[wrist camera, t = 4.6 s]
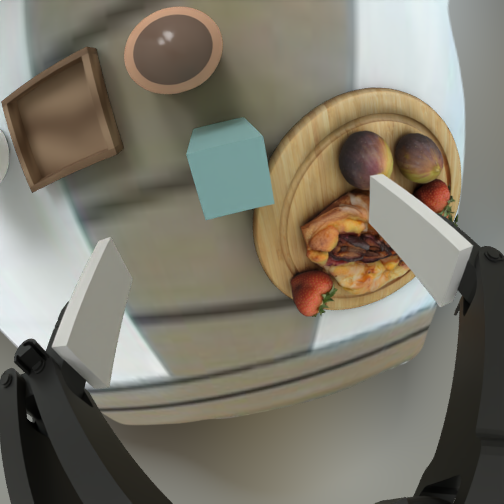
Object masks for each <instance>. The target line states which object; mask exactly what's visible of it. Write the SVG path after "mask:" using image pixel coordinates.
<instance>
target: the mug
mask: <svg viewBox="0 0 504 504" xmlns="http://www.w3.org/2000/svg"><path fill="white" fill-rule="evenodd" d="M8 166H9V147H8V143H7V140H6V138H5V136H4V134H3V132H2V131H1V130H0V182H1V181H2V180H3V179H4V177H5V175H6V172H7V170H8Z"/></svg>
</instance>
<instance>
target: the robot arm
mask: <svg viewBox="0 0 504 504" xmlns="http://www.w3.org/2000/svg"><path fill="white" fill-rule="evenodd" d="M369 223H370V225H371V226H372V227H373V228H374V229H375V230H376V231H377V232H378V233H379V234H380V235H381V236H382V237H383V239H384V240H385V241H386V242H387V243H388V244H389V245H390V246H391V248H392V249H393V250H394V251H395V252H396V253H397V254H398V255H399V257H400V258H401V259H402V260H403V261H404V262H405V264H406V265H407V266H408V267H409V268H410V270H411V271H412V272H413V273H414V274H415V276H416V277H417V278H418V279H419V281H420V282H421V283H422V284H423V286H424V287H425V288H426V289H427V291H428V292H429V293H430V294H431V296H432V297H433V298H434V300H435V301H436V302H437V304H438V305H439V306H440V307H442V306H444V305H446V304H448V303H450V302H452V301H453V300H454V298H455V296H456V293H457V291H459V292H460V293H461V294H462V297H461V299H460V301H459V304H458V306H457V308H456V310H455V314H454V315H457V313H458V311H459V310H460V312H459V332H458V344H457V354H456V362H455V370H454V377H453V383H452V389H451V394H450V399H449V404H448V408H447V413H446V417H445V421H444V425H443V429H442V433H441V436H440V440H439V443H438V446H437V450H436V453H435V456H434V458H433V460H432V462H431V463H430V464H429V466H428V467H427V469H426V470H425V472H424V473H423V475H422V478H421V480H420V483H419V485H418V487H417V489H416V492H415V494H414V496H413V497H408V498H406V497H404V498H398V499H391V500H383V501H380V502H377V503H375V504H504V256H503V254H502V253H501V252H500V251H498V250H497V249H495V248H493V247H490V246H484V247H480V246H479V245H477V244H476V243H475V242H474V241H473V240H472V239H471V238H470V237H469V236H468V235H467V234H465V233H464V232H463V231H461V230H460V228H458V227H457V226H456V225H454V223H453V222H451V221H450V220H449V219H448V218H446V217H444V216H442V215H440V214H438V213H435V212H433V211H432V210H431V209H430V208H428V207H427V206H426V205H425V204H423V203H422V202H421V201H419V200H418V199H417V198H415V197H414V196H413V195H411V194H410V193H409V192H407V191H406V190H405V189H403V188H402V187H401V186H399V185H398V184H396V183H395V182H393V181H392V180H391V179H389V178H388V177H386V176H385V175H383V174H379V175H372V176H370V206H369ZM132 280H133V278H132V277H131V275H130V273H129V271H128V269H127V267H126V265H125V264H124V262H123V260H122V258H121V256H120V254H119V252H118V250H117V248H116V246H115V244H114V242H113V240H112V238H111V237H109V238H106V239H103V240H100V241H98V243H97V245H96V247H95V249H94V251H93V252H92V254H91V256H90V258H89V260H88V262H87V264H86V266H85V268H84V270H83V272H82V275H81V277H80V279H79V281H78V283H77V285H76V287H75V290H74V292H73V294H72V296H71V299H70V301H68V302H67V304H66V305H65V306H64V308H63V309H62V310H61V313H60V315H59V318H58V321H57V323H56V325H55V329H54V330H53V333H52V335H51V338H50V341H49V344H48V346H47V349H46V351H45V350H44V349H43V348H42V347H41V346H40V345H39V344H38V343H37V342H36V340H35V339H27V340H26V341H24V342H23V343H22V344H21V345H20V346H19V348H18V349H17V351H16V353H15V357H14V362H15V364H17V365H18V366H19V367H20V368H21V369H22V370H23V371H24V372H25V373H24V374H21V375H20V374H19V373H18V372H17V371H16V370H15V369H13V368H10V369H8V370H6V371H5V372H4V373H3V375H2V376H1V379H0V444H1V453H2V460H3V467H4V472H5V478H6V484H7V488H8V493H9V497H10V501H11V504H172V502H171V501H170V500H169V499H168V498H167V497H166V496H165V495H164V494H163V493H162V492H161V491H160V490H159V489H158V488H157V487H156V486H155V484H154V483H153V482H152V481H151V480H150V479H149V477H148V476H147V475H146V474H145V473H144V472H143V470H142V469H141V468H140V467H139V466H138V464H137V463H136V462H135V460H134V459H133V458H132V457H131V455H130V454H129V453H128V451H127V450H126V449H125V447H124V446H123V445H122V443H121V442H120V440H119V439H118V437H117V436H116V435H115V433H114V432H113V430H112V429H111V427H110V426H109V424H108V423H107V421H106V420H105V418H104V417H103V415H102V413H101V412H100V410H99V408H98V407H97V405H96V403H95V402H94V400H93V398H92V397H91V395H90V393H89V392H88V391H87V390H86V389H85V383H86V381H87V382H88V383H89V384H90V385H91V386H92V387H93V388H109V386H110V380H111V374H112V368H113V362H114V357H115V352H116V347H117V342H118V337H119V332H120V328H121V323H122V319H123V315H124V311H125V307H126V303H127V299H128V295H129V291H130V287H131V283H132ZM26 413H27V414H29V415H30V416H31V417H32V419H33V422H30V421H29V420H28V419H27V414H26ZM454 500H455V501H454ZM453 502H454V503H453Z"/></svg>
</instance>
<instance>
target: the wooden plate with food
mask: <svg viewBox="0 0 504 504" xmlns="http://www.w3.org/2000/svg"><path fill="white" fill-rule="evenodd" d="M268 167H269V173H270V179H271V185H272V191H273V197H274V203H275V204H272V205H267V206H263V207H258V208H254V212H253V237H254V244H255V248H256V252H257V255H258V258H259V260H260V263H261V265H262V267H263V269H264V271H265V273H266V274H267V276H268V277H269V279H270V280H271V282H272V283H273V284H274V285H275V286H276V287H277V288H278V289H279V290H281V291H282V292H283V293H284V294H285V295H287V296H288V297H290V298H291V299H293V300H294V303H295V304H296V306H297V308H298V310H299V311H300V312H301V313H302V314H303V315H305V316H312V317H313V316H315V317H316V315H317V313H319V312H320V315H321V314H322V313H324V312H325V311H324V310H323V309H326V310H343V309H350V308H356V307H360V306H364V305H367V304H370V303H373V302H376V301H378V300H380V299H383V298H385V297H386V296H388V295H390V294H392V293H394V292H395V291H397V290H398V289H400V288H401V287H403V286H404V285H405V284H407V283H408V282H409V281H411V280H412V279H413V278H414V277H415V274H414V273H413V272H412V271H411V270H410V268H409V267H408V266H407V265H406V264H405V262H404V261H403V260H402V259H401V258H400V257H399V255H398V254H397V253H396V252H395V251H394V250H393V249H392V248H391V246H390V245H389V244H388V243H387V242H386V241H385V240H384V239H383V237H382V236H381V235H380V234H379V233H378V232H377V231H376V230H375V229H374V228H373V227H372V226H371V225H370V223H369V206H370V176H372V175H379V174H383V175H385V176H386V177H388V178H389V179H391V180H392V181H393V182H395V183H396V184H398V185H399V186H401V187H402V188H403V189H405V190H406V191H407V192H409V193H410V194H411V195H413V196H414V197H415V198H417V199H418V200H419V201H421V202H422V203H423V204H425V205H426V206H427V207H428V208H430V209H431V210H432V211H433V212H435V213H438V214H440V215H442V216H444V217H446V218H448V219H449V220H450V221H451V222H453V221H454V222H455V223H454V222H453V223H454V225H456V226H457V224H456V222H457V221H458V214H457V216H456V218H455V215H456V212H457V209H458V204H459V199H460V192H461V165H460V158H459V154H458V150H457V147H456V144H455V141H454V138H453V136H452V134H451V132H450V130H449V129H448V127H447V125H446V124H445V122H444V121H443V120H442V118H441V117H440V116H439V115H438V114H437V113H436V112H435V111H434V110H433V109H432V108H431V107H430V106H429V105H427V104H426V103H425V102H423V101H422V100H420V99H418V98H417V97H415V96H413V95H410V94H408V93H405V92H402V91H398V90H394V89H388V88H365V89H359V90H354V91H350V92H347V93H344V94H341V95H338V96H336V97H334V98H332V99H329V100H328V101H326V102H324V103H322V104H321V105H319V106H317V107H316V108H314V109H313V110H312V111H310V112H309V113H308V114H307V115H305V116H304V117H303V118H302V119H301V120H300V121H299V122H297V123H296V124H295V125H294V126H293V127H292V128H291V129H290V131H289V132H288V133H287V134H286V135H285V136H284V137H283V139H282V140H281V141H280V143H279V144H278V146H277V147H276V149H275V150H274V152H273V154H272V156H271V158H270V160H269V162H268ZM454 218H455V220H454Z"/></svg>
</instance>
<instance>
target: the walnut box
mask: <svg viewBox="0 0 504 504" xmlns="http://www.w3.org/2000/svg"><path fill="white" fill-rule="evenodd" d="M1 103H2V107H3V111H4V115H5V118H6V122H7V125H8V129H9V132H10V135H11V139H12V142H13V145H14V148H15V151H16V153H17V156H18V159H19V162H20V164H21V167H22V170H23V172H24V175H25V177H26V180H27V182H28V184H29V187H30V189H31V191H32V193H33V192H35V191H37V190H39V189H41V188H43V187H45V186H47V185H49V184H51V183H53V182H55V181H57V180H59V179H61V178H63V177H65V176H67V175H69V174H71V173H74V172H76V171H78V170H80V169H83V168H85V167H87V166H90V165H92V164H94V163H97V162H99V161H102V160H104V159H107V158H109V157H112V156H114V155H117V154H118V153H119V152H120V151H121V150H122V149H124V147H123V144H122V141H121V138H120V134H119V131H118V128H117V125H116V122H115V118H114V115H113V111H112V108H111V105H110V101H109V97H108V94H107V90H106V86H105V83H104V79H103V75H102V71H101V67H100V62H99V58H98V54H97V49H95V48H90V47H85V48H83V49H81V50H79V51H77V52H75V53H74V54H72V55H70V56H68V57H66V58H65V59H63V60H61V61H59V62H58V63H56V64H54V65H53V66H51V67H49V68H48V69H46V70H45V71H43V72H41V73H40V74H38V75H37V76H35V77H34V78H32V79H31V80H29V81H28V82H27V83H25V84H24V85H22V86H21V87H20V88H18V89H17V90H16V91H14V92H13V93H12V94H10V95H9V96H8V97H6V98H5V99H4V100H3V101H1Z"/></svg>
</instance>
